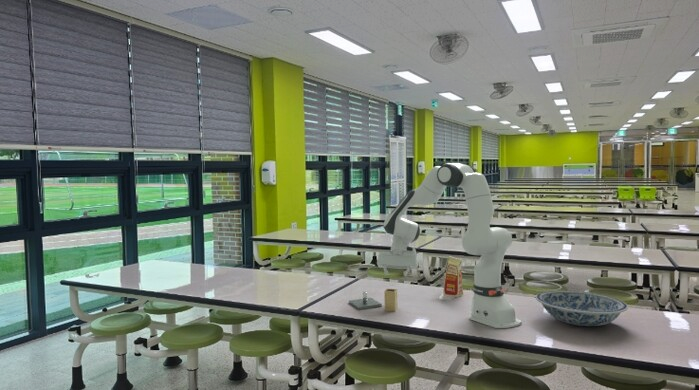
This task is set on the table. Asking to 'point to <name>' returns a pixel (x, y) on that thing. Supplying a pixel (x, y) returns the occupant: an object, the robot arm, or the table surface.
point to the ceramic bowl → (581, 307)
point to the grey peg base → (365, 302)
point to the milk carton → (453, 278)
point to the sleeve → (390, 299)
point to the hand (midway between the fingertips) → (395, 274)
